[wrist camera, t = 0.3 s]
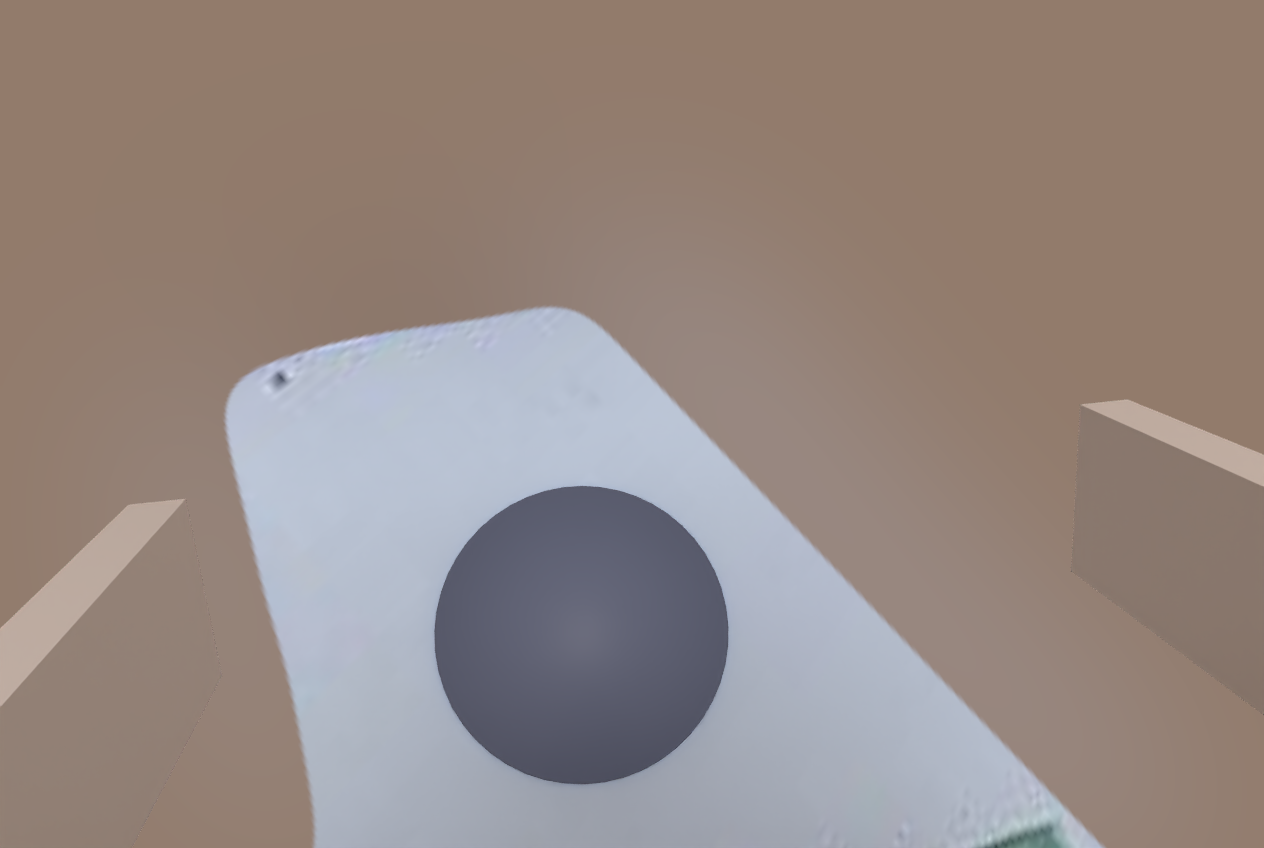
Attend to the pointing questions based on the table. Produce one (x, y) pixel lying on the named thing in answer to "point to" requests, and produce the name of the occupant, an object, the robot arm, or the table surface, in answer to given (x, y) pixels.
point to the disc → (581, 635)
